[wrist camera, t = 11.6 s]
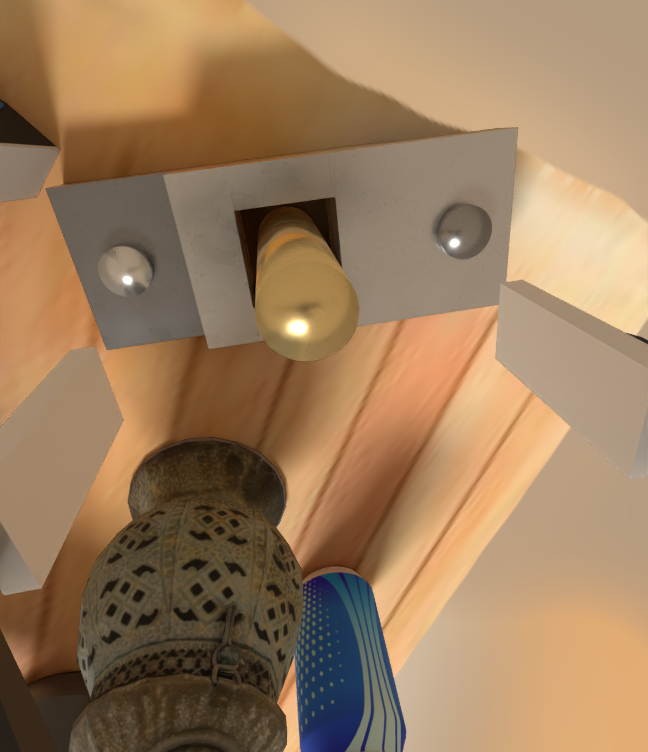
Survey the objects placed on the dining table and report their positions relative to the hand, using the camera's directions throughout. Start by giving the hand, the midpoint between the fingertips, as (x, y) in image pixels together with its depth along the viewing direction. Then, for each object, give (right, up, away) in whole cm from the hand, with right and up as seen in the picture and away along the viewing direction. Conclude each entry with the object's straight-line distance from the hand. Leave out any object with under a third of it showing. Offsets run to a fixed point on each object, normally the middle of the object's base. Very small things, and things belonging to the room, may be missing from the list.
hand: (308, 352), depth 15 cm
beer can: (+1, -23, +33) cm, 40 cm away
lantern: (-9, -11, +25) cm, 29 cm away
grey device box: (-2, +9, +16) cm, 18 cm away
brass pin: (-2, +9, +16) cm, 18 cm away
